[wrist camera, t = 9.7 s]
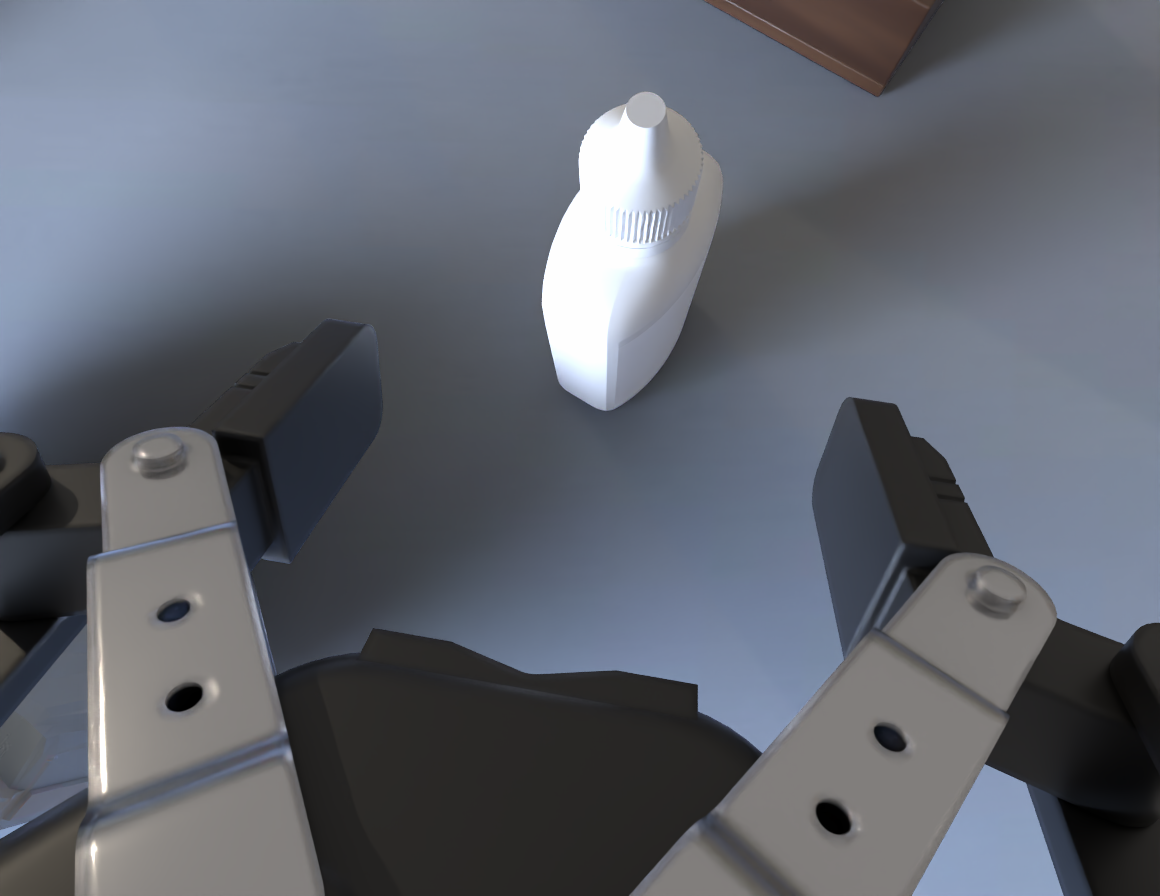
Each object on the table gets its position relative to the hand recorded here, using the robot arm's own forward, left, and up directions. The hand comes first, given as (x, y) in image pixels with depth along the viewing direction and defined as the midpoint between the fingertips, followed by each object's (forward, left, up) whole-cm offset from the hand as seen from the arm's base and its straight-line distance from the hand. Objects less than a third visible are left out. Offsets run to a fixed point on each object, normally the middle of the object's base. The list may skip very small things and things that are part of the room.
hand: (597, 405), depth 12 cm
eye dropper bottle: (+5, +2, -11) cm, 12 cm away
